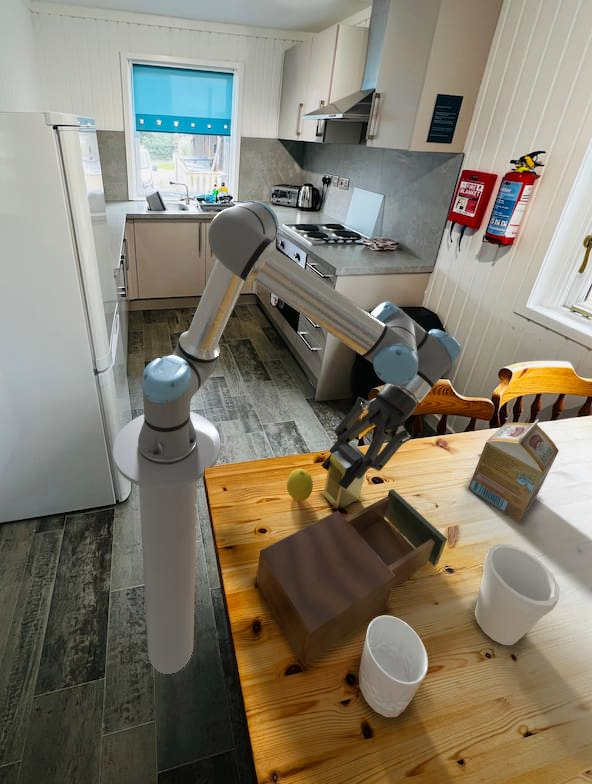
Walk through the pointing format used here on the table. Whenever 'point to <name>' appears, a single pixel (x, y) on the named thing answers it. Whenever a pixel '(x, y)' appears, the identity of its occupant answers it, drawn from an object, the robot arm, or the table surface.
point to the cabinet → (323, 584)
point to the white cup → (391, 665)
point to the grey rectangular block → (337, 471)
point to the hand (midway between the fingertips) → (333, 477)
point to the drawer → (398, 535)
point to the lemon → (299, 484)
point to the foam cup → (513, 593)
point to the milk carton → (514, 467)
